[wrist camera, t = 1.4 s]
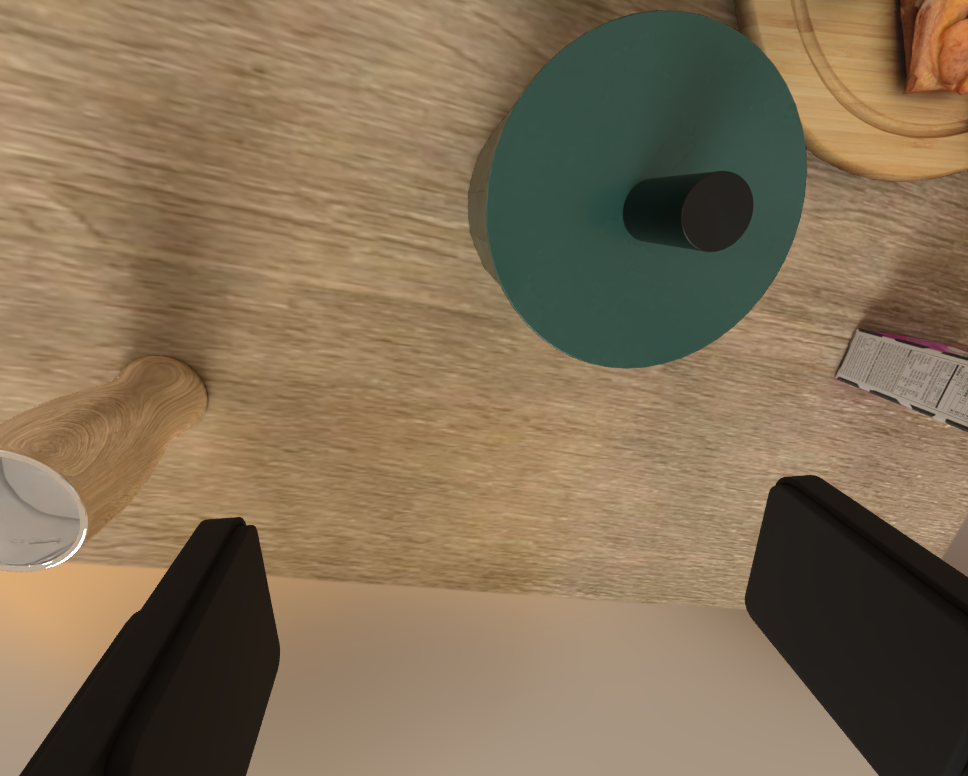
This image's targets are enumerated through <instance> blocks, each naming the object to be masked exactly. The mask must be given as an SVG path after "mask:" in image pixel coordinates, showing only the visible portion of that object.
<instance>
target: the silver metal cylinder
mask: <svg viewBox="0 0 968 776" xmlns="http://www.w3.org/2000/svg"><path fill="white" fill-rule="evenodd" d="M207 400H208V399H207V392H206V389H205V386H204V384H203V382H202V380H201V379H200V377H199V376H198V375H197V374H196V373H195V372H194V371H193V370H192V369H191V368H190V367H188V366H187V365H185V364H184V363H182V362H180V361H178V360H175V359H173V358H169V357H165V356H146V357H141V358H138V359H136V360H134V361H132V362H130V363H129V364H128V365H126V366H125V367H124V368H123V369H122V370H121V371H120V372H119V374H118V375H117V376H116V377H115V378H114V379H113V380H112V381H110V382H108V383H106V384H103V385H100V386H97V387H93V388H89V389H86V390H82V391H78V392H75V393H72V394H68V395H65V396H61V397H59V398H56V399H53V400H50V401H47V402H45V403H42V404H39V405H37V406H35V407H33V408H31V409H29V410H26V411H24V412H22V413H20V414H18V415H16V416H14V417H12V418H11V419H9V420H7V421H5V422H4V423H2V424H0V570H2V571H10V572H32V571H39V570H44V569H48V568H51V567H54V566H57V565H59V564H61V563H63V562H65V561H66V560H68V559H69V558H71V557H72V556H73V555H74V554H75V553H76V552H77V551H78V550H79V549H80V548H81V547H82V546H83V545H84V544H85V543H87V542H88V541H89V540H90V539H91V538H93V537H94V536H95V535H96V534H97V533H99V532H100V531H101V530H102V529H103V528H104V527H105V526H107V525H108V524H109V523H110V522H111V521H112V520H113V519H114V518H115V517H116V516H117V515H118V514H120V513H121V512H122V511H123V510H124V509H125V508H126V507H127V506H128V505H129V503H130V502H131V501H132V500H133V499H134V498H135V497H136V495H137V494H138V493H139V492H140V491H141V490H142V488H143V487H144V485H145V484H146V482H147V481H148V479H149V478H150V476H151V475H152V473H153V472H154V470H155V468H156V467H157V465H158V463H159V461H160V460H161V458H162V456H163V454H164V452H165V450H166V448H167V447H168V445H169V443H170V442H171V440H172V439H173V438H174V437H175V436H177V435H179V434H181V433H183V432H185V431H187V430H188V429H190V428H192V427H193V426H194V425H196V424H197V423H198V422H199V421H200V420H201V418H202V417H203V415H204V413H205V411H206V408H207Z"/></svg>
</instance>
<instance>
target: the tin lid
mask: <svg viewBox="0 0 968 776" xmlns="http://www.w3.org/2000/svg"><path fill="white" fill-rule="evenodd" d="M806 175H807V166H806V147H805V140H804V134H803V127H802V124H801V120H800V117H799V113H798V110H797V107H796V104H795V102H794V99H793V97H792V95H791V93H790V90H789V88H788V86H787V84H786V82H785V81H784V79H783V77H782V76H781V74H780V73H779V71H778V70H777V68H776V66H775V65H774V64H773V63H772V62H771V60H770V59H769V58H768V57H767V56H766V55H765V53H764V52H763V51H762V50H761V49H760V48H759V47H758V46H756V45H755V44H754V43H753V42H752V41H751V40H749V39H748V38H747V37H746V36H745V35H743V34H742V33H740V32H738V31H737V30H735V29H733V28H731V27H730V26H728V25H726V24H725V23H722V22H719V21H717V20H714V19H711V18H709V17H706V16H704V15H699V14H694V13H689V12H683V11H663V10H656V11H649V12H642V13H635V14H631V15H627V16H624V17H621V18H618V19H615V20H611V21H609V22H607V23H604V24H602V25H600V26H598V27H596V28H594V29H592V30H590V31H588V32H586V33H585V34H583V35H582V36H580V37H579V38H577V39H576V40H574V41H573V42H571V43H570V44H568V45H567V46H565V47H564V48H563V49H562V50H561V51H560V52H559V53H558V54H556V55H555V56H554V57H553V58H552V59H551V60H550V61H549V62H548V63H546V64H545V65H544V67H543V68H542V69H541V70H540V71H539V72H538V74H537V75H536V76H535V77H534V78H533V79H532V80H531V82H530V83H529V84H528V85H527V86H526V88H525V89H524V91H523V92H522V94H521V95H520V97H519V98H518V100H517V101H516V103H515V104H514V106H513V108H512V109H511V111H510V113H509V115H508V117H507V119H506V121H505V123H504V125H503V128H502V130H501V132H500V135H499V137H498V140H497V143H496V146H495V149H494V152H493V154H492V159H491V163H490V168H489V172H488V176H487V183H486V193H485V230H486V237H487V244H488V250H489V253H490V257H491V261H492V264H493V268H494V271H495V273H496V276H497V278H498V280H499V283H500V285H501V287H502V290H503V291H504V293H505V295H506V297H507V298H508V300H509V302H510V303H511V305H512V307H513V308H514V309H515V311H516V312H517V313H518V314H519V316H520V317H521V318H522V319H523V321H524V322H525V323H526V324H527V325H528V326H529V327H530V328H531V329H532V330H533V331H534V332H535V333H536V334H537V335H538V336H539V337H540V338H542V339H543V340H544V341H546V342H547V343H549V344H550V345H551V346H553V347H554V348H556V349H557V350H559V351H561V352H563V353H565V354H567V355H569V356H571V357H573V358H576V359H578V360H581V361H584V362H587V363H590V364H594V365H599V366H604V367H611V368H642V367H649V366H654V365H659V364H664V363H668V362H671V361H674V360H677V359H680V358H683V357H685V356H687V355H689V354H691V353H694V352H696V351H698V350H700V349H702V348H703V347H705V346H707V345H708V344H710V343H712V342H713V341H715V340H717V339H718V338H719V337H721V336H722V335H723V334H725V333H726V332H727V331H729V330H730V329H731V328H733V327H734V326H735V325H736V324H737V323H738V322H739V321H740V320H741V319H742V318H743V317H744V316H745V315H746V314H747V313H749V311H750V310H751V309H752V308H753V307H754V306H755V304H756V303H757V302H758V301H759V300H760V299H761V297H762V296H763V295H764V293H765V292H766V290H767V289H768V287H769V286H770V285H771V283H772V282H773V280H774V279H775V277H776V275H777V273H778V272H779V270H780V268H781V266H782V264H783V263H784V261H785V259H786V256H787V254H788V252H789V249H790V247H791V245H792V242H793V240H794V237H795V234H796V231H797V227H798V224H799V221H800V218H801V212H802V207H803V202H804V197H805V187H806Z"/></svg>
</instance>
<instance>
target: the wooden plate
mask: <svg viewBox="0 0 968 776" xmlns="http://www.w3.org/2000/svg"><path fill="white" fill-rule="evenodd" d="M734 1H735V9H736V16H737V21H738V26H739V31H740V33H742V34H743V35H745V36H746V37H747V38H748V39H749V40H751V41H752V42H753V43H754V44H755V45H756V46H758V47H759V48H760V49H761V50H762V51H763V52H764V53H765V55H766V56H767V57H768V58H769V59H770V60H771V62H772V63H773V64H774V65H775V66H776V68H777V70H778V71H779V73H780V74H781V76H782V77H783V79H784V81H785V82H786V84H787V86H788V88H789V90H790V93H791V95H792V97H793V99H794V102H795V104H796V107H797V110H798V113H799V117H800V120H801V124H802V127H803V134H804V140H805V147H806V148H807V149H808V150H809V151H811V152H812V153H813V154H814V155H816V156H817V157H818V158H820V159H822V160H824V161H825V162H827V163H829V164H831V165H833V166H835V167H837V168H839V169H841V170H843V171H846V172H849V173H851V174H854V175H857V176H861V177H865V178H869V179H874V180H880V181H890V182H905V181H920V180H928V179H934V178H940V177H944V176H948V175H952V174H956V173H959V172H962V171H965V170H968V0H734Z"/></svg>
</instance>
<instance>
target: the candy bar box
mask: <svg viewBox="0 0 968 776" xmlns="http://www.w3.org/2000/svg"><path fill="white" fill-rule="evenodd" d="M835 379H837V380H840V381H842V382H845V383H847V384H850V385H852V386H855V387H857V388H860V389H862V390H865V391H867V392H869V393H872V394H874V395H877V396H880V397H882V398H884V399H887V400H889V401H892V402H895V403H897V404H900V405H902V406H904V407H907V408H909V409H912V410H915V411H917V412H920V413H922V414H925V415H927V416H929V417H932V418H934V419H937V420H939V421H942V422H944V423H947V424H949V425H952V426H954V427H957V428H959V429H962V430H964V431H966V432H968V348H966V347H962V346H957V345H952V344H947V343H942V342H936V341H930V340H924V339H919V338H913V337H907V336H901V335H895V334H889V333H883V332H876V331H870V330H864V329H856V331H855V333H854V335H853V337H852V338H851V341H850V343H849V346H848V349H847V351H846V354H845V356H844V358H843V360H842V362H841V365H840V367H839V369H838V371H837V374H836V376H835Z"/></svg>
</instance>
